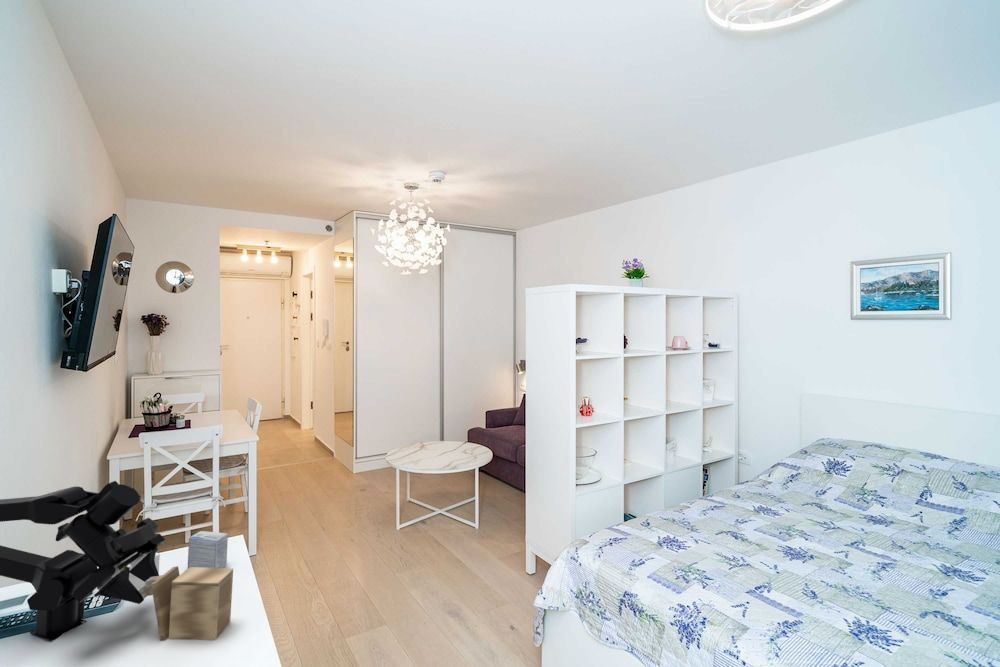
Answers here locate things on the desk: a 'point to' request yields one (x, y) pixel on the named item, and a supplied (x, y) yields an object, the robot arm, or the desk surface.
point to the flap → (161, 598)
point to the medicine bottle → (136, 581)
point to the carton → (200, 603)
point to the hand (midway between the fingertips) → (151, 594)
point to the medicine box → (208, 550)
